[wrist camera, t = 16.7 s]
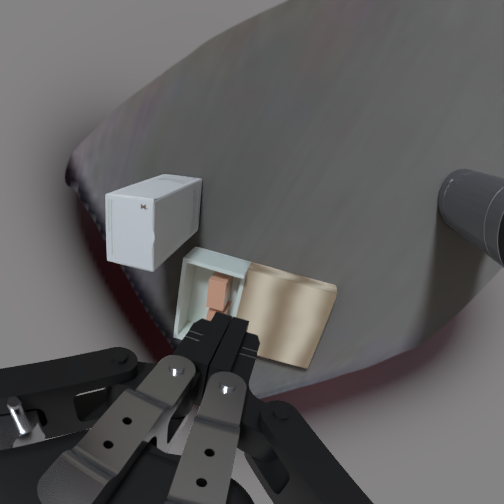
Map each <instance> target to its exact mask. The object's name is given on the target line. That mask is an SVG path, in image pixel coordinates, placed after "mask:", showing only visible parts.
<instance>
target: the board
mask: <svg viewBox="0 0 504 504" xmlns="http://www.w3.org/2000/svg"><path fill="white" fill-rule="evenodd" d="M336 296H337V288H336V285H333V284H329V283H325V282H322V281H318V280H315V279H311V278H307V277H304V276H300V275H296V274H293V273H289V272H286V271H282V270H278V269H275V268H271V267H268V266H264V265H261V264H257V263H253V262H251V264H250V266H249V268H248V269H247V273H246V278H245V282H244V286H243V290H242V295H241V299H240V303H239V307H238V312H237V316H236V317H237V318H241V319H244V320H247V321H249V325H248V329H247V332H248V333H252V334H255V335H258V338H259V341H260V346H259V349H258V353H257V355H258V356H261V357H265V358H269V359H272V360H276V361H280V362H283V363H287V364H291V365H295V366H299V367H303V368H308V366H309V364H310V361H311V359H312V357H313V354H314V352H315V349H316V347H317V345H318V342H319V340H320V337H321V335H322V332H323V330H324V327H325V325H326V322H327V320H328V317H329V315H330V312H331V310H332V307H333V304H334V302H335V299H336Z"/></svg>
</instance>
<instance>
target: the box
mask: <svg viewBox="0 0 504 504" xmlns="http://www.w3.org/2000/svg"><path fill="white" fill-rule="evenodd" d="M250 264H251V262H250V261H246V260H243V259H239V258H236V257H232V256H229V255H225V254H221V253H218V252H214V251H211V250H207V249H204V248H200V247H197V246H195V247H194V248H193V249H192V250H191V251H190V252H189V253H188V254H187V255H185V256H184V257H183V263H182V271H181V278H180V286H179V293H178V301H177V310H176V318H175V327H174V337H175V338H178V339H181V340H183V338H184V337H185V335H186V334H187V332H188V331H189V329H190V328H191V326H192V325H193V323H194V322H196V321H198V320H200V319H202V318H203V319H206V317H207V312H208V310H209V307H206V303H207V294H208V285H209V279H210V277H211V276H212V275H213V273H214V272H215V271H217V272H221V273H224V274H227V275H231V276H233V282H232V289H231V296H230V299H229V300H228V301H230V302H231V306H230V310H229V314H228V315H230V316H232V318H233V317H236V316H237V312H238V307H239V303H240V299H241V295H242V290H243V286H244V282H245V278H246V273H247V269H248V268H249V266H250Z"/></svg>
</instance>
